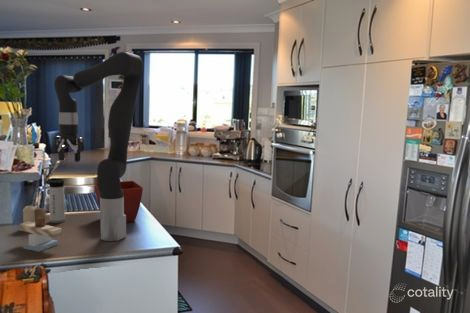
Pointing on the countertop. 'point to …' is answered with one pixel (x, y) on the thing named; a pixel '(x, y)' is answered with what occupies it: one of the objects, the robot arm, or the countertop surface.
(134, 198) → the plant pot
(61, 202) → the travel mug
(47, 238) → the fulcrum block
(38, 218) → the maple bar
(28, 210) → the candle
